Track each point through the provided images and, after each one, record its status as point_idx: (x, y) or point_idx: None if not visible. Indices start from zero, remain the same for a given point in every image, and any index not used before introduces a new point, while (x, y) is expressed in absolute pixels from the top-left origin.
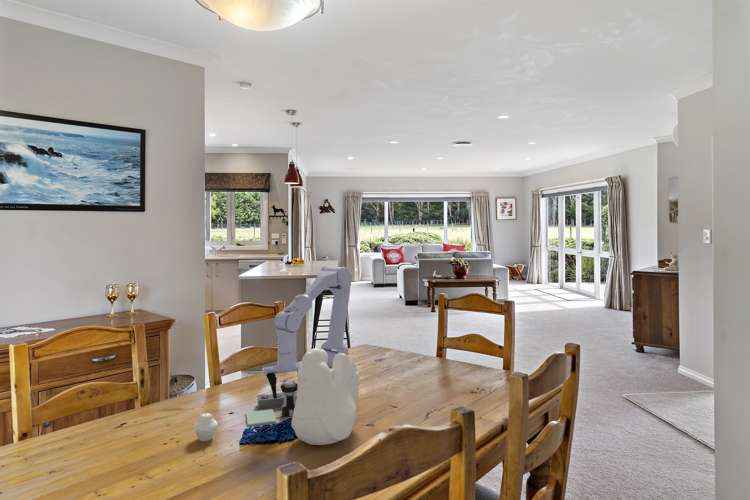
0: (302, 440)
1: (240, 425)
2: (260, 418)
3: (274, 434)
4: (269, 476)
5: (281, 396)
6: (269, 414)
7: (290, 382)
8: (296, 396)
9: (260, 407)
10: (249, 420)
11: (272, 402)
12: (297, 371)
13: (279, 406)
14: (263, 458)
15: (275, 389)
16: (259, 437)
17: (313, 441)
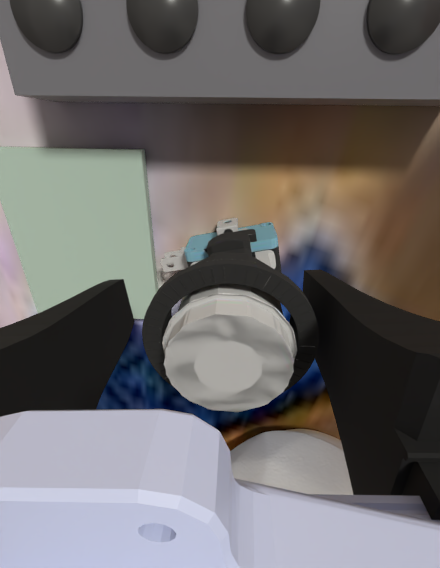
0: None
1: (9, 289)
2: (85, 271)
3: (153, 396)
4: None
5: (198, 43)
6: (126, 235)
7: (236, 381)
8: (321, 98)
9: (58, 100)
10: (36, 277)
11: (130, 98)
12: (403, 374)
13: (187, 102)
14: None
15: (101, 381)
16: (104, 399)
17: None
